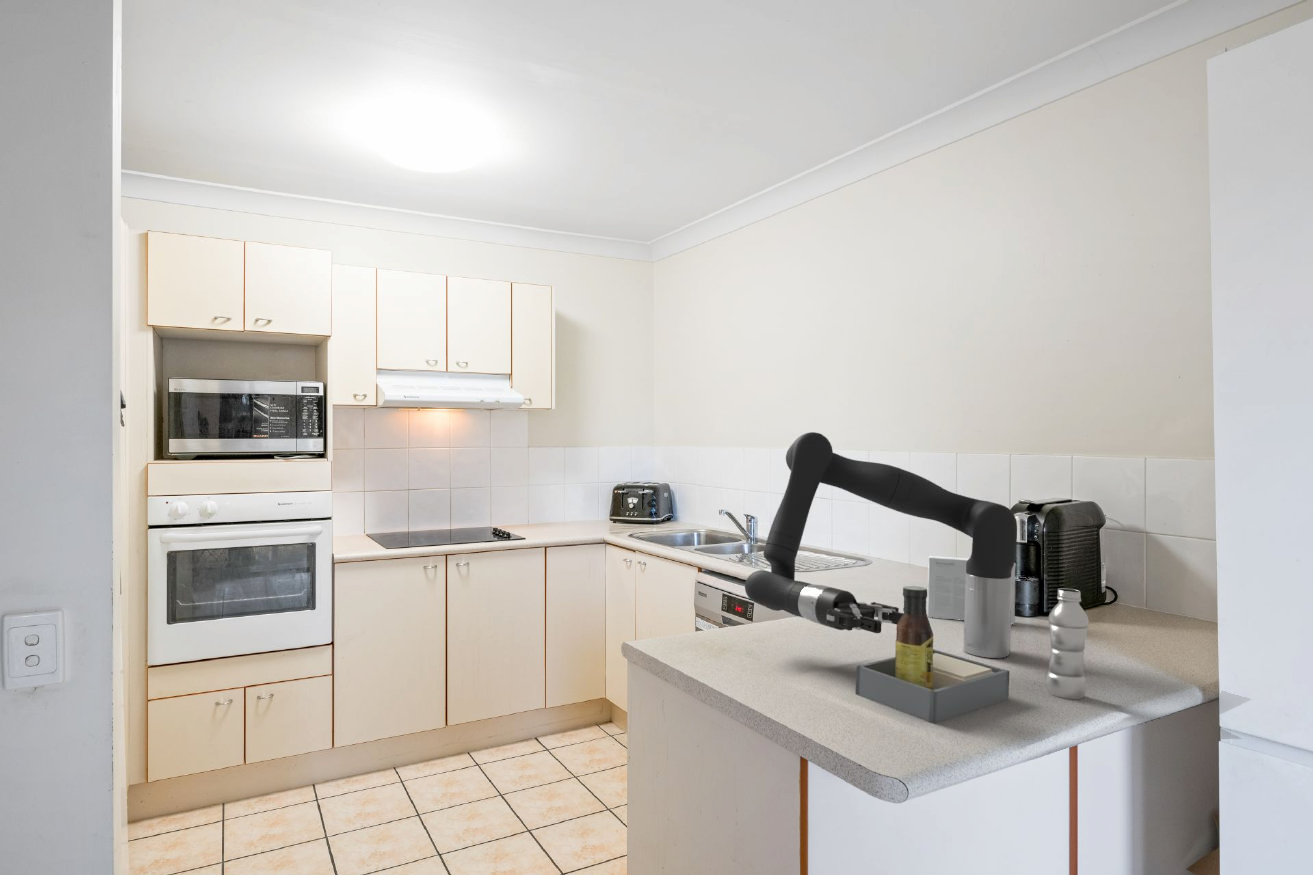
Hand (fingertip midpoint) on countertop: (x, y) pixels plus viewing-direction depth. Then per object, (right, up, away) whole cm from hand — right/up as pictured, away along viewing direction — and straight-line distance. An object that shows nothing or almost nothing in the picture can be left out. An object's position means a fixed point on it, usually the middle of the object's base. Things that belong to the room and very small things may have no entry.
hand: (895, 624), depth 138 cm
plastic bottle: (+32, -15, +3) cm, 35 cm away
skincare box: (+39, -14, +63) cm, 75 cm away
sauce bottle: (+2, -13, -3) cm, 13 cm away
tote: (+6, -14, -1) cm, 15 cm away
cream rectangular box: (+10, -13, +2) cm, 17 cm away
